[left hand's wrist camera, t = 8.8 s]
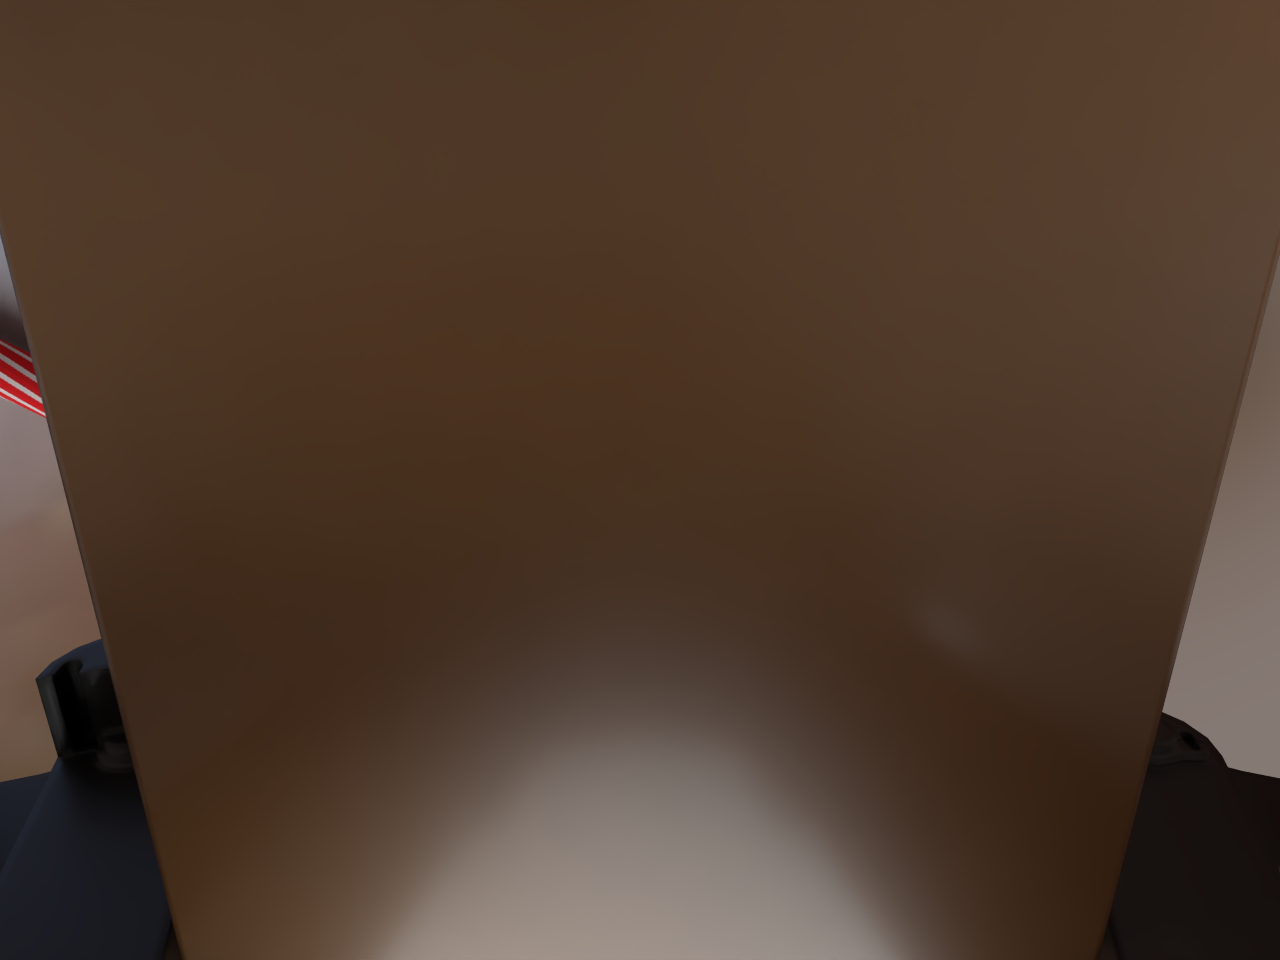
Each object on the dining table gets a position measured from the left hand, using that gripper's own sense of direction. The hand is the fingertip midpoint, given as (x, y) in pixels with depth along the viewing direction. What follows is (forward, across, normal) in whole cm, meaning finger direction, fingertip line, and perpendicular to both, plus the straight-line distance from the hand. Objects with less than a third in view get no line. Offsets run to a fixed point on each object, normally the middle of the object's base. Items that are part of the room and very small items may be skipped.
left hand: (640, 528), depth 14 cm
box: (+1, 0, -7) cm, 7 cm away
